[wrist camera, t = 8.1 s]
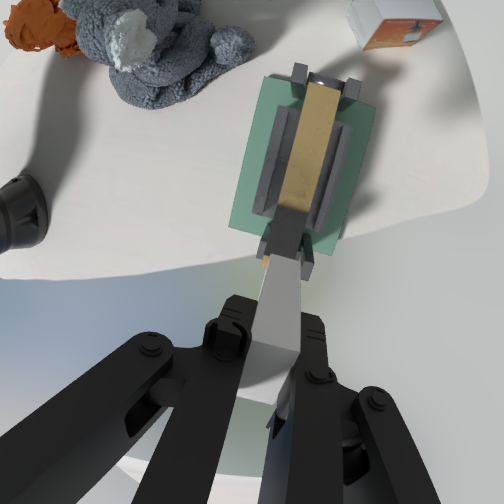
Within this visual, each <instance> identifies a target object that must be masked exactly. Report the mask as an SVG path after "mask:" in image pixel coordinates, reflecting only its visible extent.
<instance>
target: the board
mask: <svg viewBox="0 0 504 504" xmlns="http://www.w3.org/2000/svg"><path fill="white" fill-rule="evenodd" d="M307 88H308V86H305V90H304V94H303V98H302V100H299V99H295V98H292V92H291V84H290V82H289V81H284V80H280V79H275V78H270V77H265V76H264V79H263V83H262V87H261V90H260V94H259V98H258V102H257V106H256V110H255V114H254V118H253V122H252V126H251V130H250V134H249V138H248V143H247V147H246V151H245V155H244V159H243V164H242V168H241V172H240V177H239V181H238V185H237V190H236V194H235V199H234V203H233V208H232V212H231V217H230V221H229V226H228V227H230V228H233V229H237V230H241V231H244V232H248V233H251V234H255V235H259V236H262V235H263V233H264V230H265V228H266V225H267V223H271V224H272V222H273V219H271V218H268V217H264V216H259V215H256V214H253V213H251V212H252V208H253V204H254V199H255V195H256V191H257V187H258V183H259V179H260V175H261V171H262V167H263V163H264V159H265V155H266V151H267V147H268V143H269V139H270V135H271V131H272V127H273V123H274V119H275V115H276V111H277V107H278V105H281V106H285V107H289V108H293V109H297V110H301V111H302V108H303V104H304V100H305V96H306V92H307ZM375 110H376V108H374V107H372V106H369V105H366V104H363V103H361V102H358V101H356V102H355V103H353V104H352V105H351V106H350V107H348V108H347V109H346V110H344V111H343V112H340V111H337V110H336V114H335V118H334V120H335V121H339V122H342V123H345V124H348V125H351V126H354V127H353V131H352V135H351V139H350V143H349V146H348V150H347V154H346V157H345V161H344V164H343V168H342V171H341V175H340V178H339V182H338V185H337V188H336V192H335V195H334V198H333V202H332V205H331V208H330V211H329V214H328V218H327V221H326V224H325V227H324V230H323V233H320V232H315V231H313V230H310V229H307V228H304V232H303V233H306V234H310V235H311V240H312V248H313V251H315V252H319V253H322V254H326V255H329V256H332V254H333V251H334V248H335V245H336V242H337V240H338V237H339V234H340V231H341V228H342V225H343V222H344V219H345V216H346V213H347V210H348V207H349V204H350V201H351V197H352V194H353V191H354V188H355V184H356V181H357V178H358V174H359V171H360V167H361V164H362V160H363V157H364V153H365V150H366V146H367V142H368V138H369V134H370V131H371V127H372V123H373V118H374V114H375ZM301 239H302V238H301Z"/></svg>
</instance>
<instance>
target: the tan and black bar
mask: <svg viewBox="0 0 504 504" xmlns="http://www.w3.org/2000/svg"><path fill="white" fill-rule="evenodd" d="M306 85H308V88H307V92H306V96H305V100H304V104H303V108H302V112H301V116H300V120H299V124H298V128H297V132H296V135H295V139H294V143H293V147H292V151H291V155H290V158H289V162H288V166H287V170H286V174H285V177H284V181H283V185H282V189H281V192H280V196H279V200H278V204H277V207H276V211H275V214H274V218H273V222H272V225H271V229H270V233H269V237H268V240H267V244H266V248H265V251H264V255H263V259H262V263H261V266H262V267H265V268H267V265H268V262H269V258H270V255H271V254H275V255H279V256H282V257H286V258H289V259H293V260H295V257H296V254H297V251H298V248H299V245H300V241H301V238H302V235H303V232H304V228H305V225H306V222H307V218H308V215H309V209H310V206H311V203H312V199H313V196H314V192H315V189H316V185H317V182H318V178H319V175H320V171H321V167H322V164H323V160H324V157H325V153H326V149H327V145H328V142H329V138H330V134H331V130H332V126H333V122H334V118H335V114H336V110H337V106H338V102H339V98H340V95H342V94H343V91H344V87H345V82H344V81H341V80H337V79H334V78H331V77H327V76H324V75H320V74H317V73H313V72H309V75H308V79H307V84H306Z"/></svg>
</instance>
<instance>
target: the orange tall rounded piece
mask: <svg viewBox="0 0 504 504" xmlns="http://www.w3.org/2000/svg"><path fill="white" fill-rule="evenodd" d="M59 1H60V0H22V1H20V2H19V3H18V4H17V5H16V6H15V5H11V14H10V17H9V20H8V21H3V24H4V25H5V26H6V28H5V36H6V38H7V39H8V40H9V42H10V44H11V45H12V46H13V47H14V48H16V49H23V50H24V51H27V52H28V51H36V52H39V51H41V50H42V49H46V48H48V47H50V46H52V45H55V46H56V47H55V49H56V50H55V51H56V52H61V56H62V57H63V58H65V57H68V58H69V56H70V55H77V54H84V53H83V52H82V51H81V49H80V48H79V46H78V43H77V40H76V33H75V32H76V26H77V24H76V23H77V21H75V20H73V19H71V18H69V17H68V16H67V15H66V14H65V13H64V12H63V10H62V9H61V8H60V7H58V6H59ZM35 47H39V48H40V49H33V48H35Z"/></svg>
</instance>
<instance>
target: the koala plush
mask: <svg viewBox="0 0 504 504" xmlns="http://www.w3.org/2000/svg"><path fill="white" fill-rule="evenodd" d="M200 1H201V0H60V1H59V6H58V7H60V8H61V9H62V10H63V12H64V13H65V14H66V15H67V16H68V17H69V18H71V19H73V20H75V21H77V23H76V24H77V26H76V32H75V33H76V40H77V43H78V46H79V48H80V49H81V51H82V52H83V53H84V54H85V55H86V56H87V58H88V59H91V60H93V61H95V62H99V63H101V64H105V65H106V66H110V67H109V77H110V80H111V83H112V85H113V86H114V88H115V89H116V92H117V93H118V96H119V97H120V98H121V99H122V100H124V101H125V102H127V103H128V104H131V105H133V106H136V107H140V108H144V109H145V108H146V109H148V110H149V109H150V110H156V109H161V108H164V107H168V106H171V105H173V104H175V103H176V102H182V101H185V100H186V99H189V98H190V97H192V96H193V95H194V94H195V93H196V92H197V91H198V89H200V88H201V87H202V86H203V85H205V84H206V82H207V81H208V80H210V79H212V78H214V77H217V76H218V75H220V74H222V73H224V72H227V71H228V70H230V69H232V68H234V67H236V66H238V65H241V64H242V63H244V61H245V60H247V59H248V58H250V55H251V51H253V49H254V48H255V45H256V44H255V43H254V42H255V41H253V38H251V36H250V35H249V34H248V33H247V32H246V31H244V30H243V29H241V28H239V27H236V26H225V27H224V28H221V29H219V30H218V31H215V28H214V26H213V24H212V22H211V21H209V22H208V21H207V20H204V19H201V18H200V17H198V16H196V14H197V12H198V10H199V7H200Z"/></svg>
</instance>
